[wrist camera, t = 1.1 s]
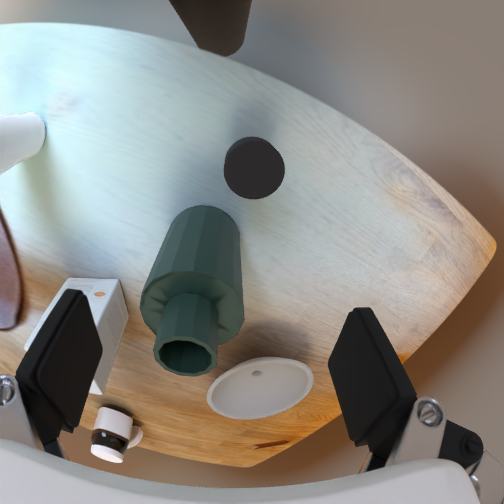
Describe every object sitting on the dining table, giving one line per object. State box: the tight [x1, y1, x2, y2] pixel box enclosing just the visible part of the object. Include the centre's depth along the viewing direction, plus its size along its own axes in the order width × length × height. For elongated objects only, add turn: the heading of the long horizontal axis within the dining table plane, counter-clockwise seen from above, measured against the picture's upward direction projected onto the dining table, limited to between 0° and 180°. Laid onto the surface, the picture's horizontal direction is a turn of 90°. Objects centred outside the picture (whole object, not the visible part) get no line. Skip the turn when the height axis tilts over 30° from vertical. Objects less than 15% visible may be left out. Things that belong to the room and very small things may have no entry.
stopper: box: [224, 137, 285, 199], centre depth 23 cm, size 4×4×7 cm
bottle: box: [140, 205, 244, 376], centre depth 23 cm, size 8×8×16 cm
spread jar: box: [91, 404, 143, 463], centre depth 44 cm, size 12×11×12 cm
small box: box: [24, 277, 129, 395], centre depth 27 cm, size 8×6×13 cm
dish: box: [207, 357, 314, 419], centre depth 39 cm, size 18×14×5 cm
